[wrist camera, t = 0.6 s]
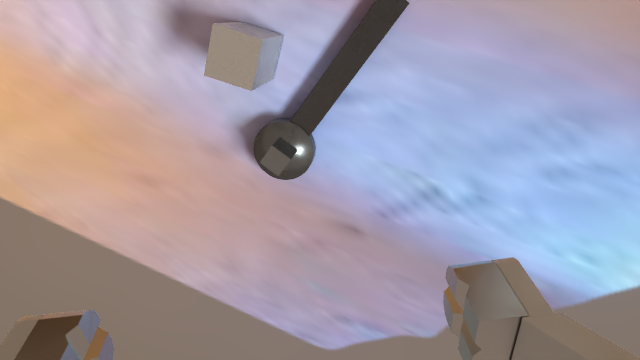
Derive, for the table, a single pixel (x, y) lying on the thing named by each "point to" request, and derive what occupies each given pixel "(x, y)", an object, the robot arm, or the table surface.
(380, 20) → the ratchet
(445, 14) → the table surface
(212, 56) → the tan wooden block
